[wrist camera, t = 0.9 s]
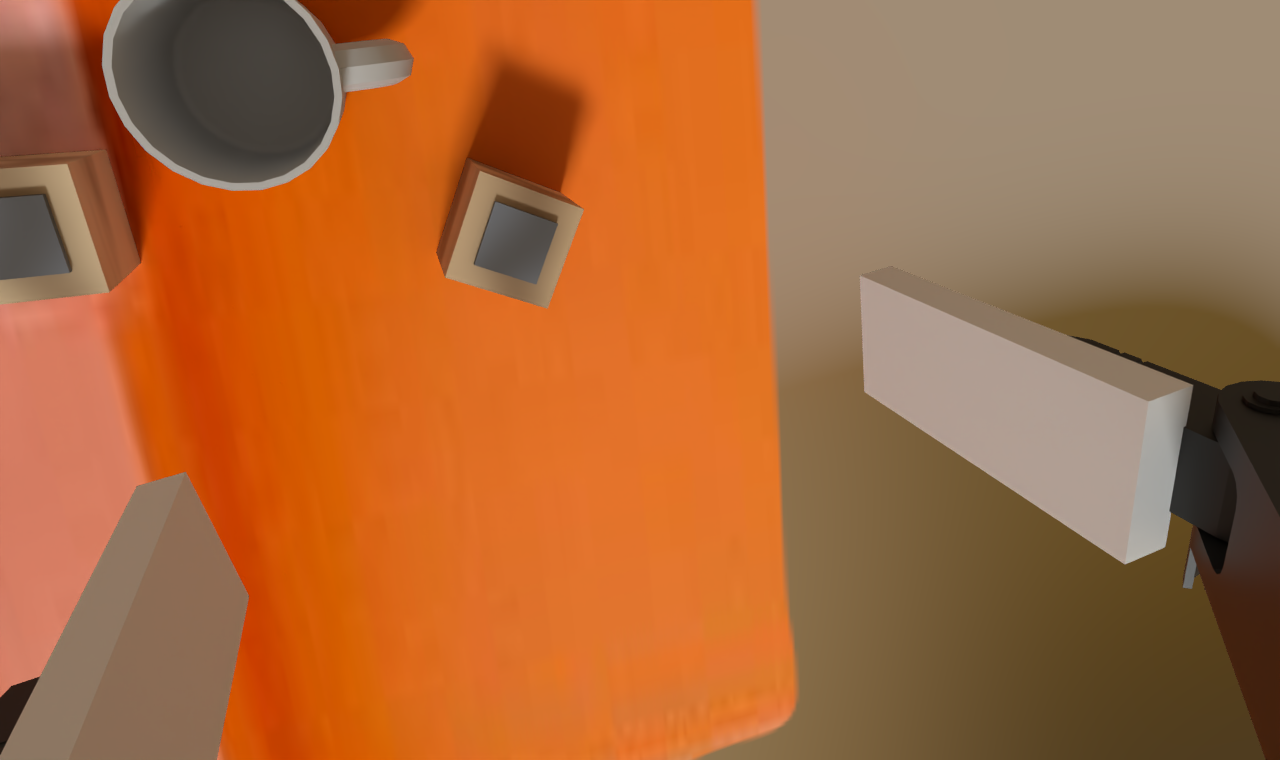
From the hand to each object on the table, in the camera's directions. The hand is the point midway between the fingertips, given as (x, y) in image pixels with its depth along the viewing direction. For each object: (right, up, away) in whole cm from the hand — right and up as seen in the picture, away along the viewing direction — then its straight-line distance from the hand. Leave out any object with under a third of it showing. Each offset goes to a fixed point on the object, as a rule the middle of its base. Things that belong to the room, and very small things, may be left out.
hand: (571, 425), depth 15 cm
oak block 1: (-24, +8, +19) cm, 31 cm away
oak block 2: (-6, +9, +25) cm, 27 cm away
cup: (-14, +15, +19) cm, 28 cm away
